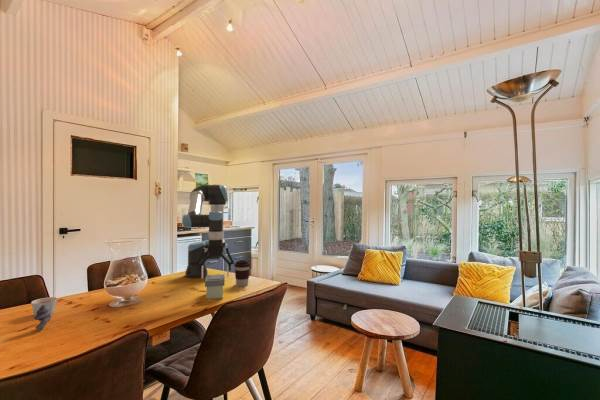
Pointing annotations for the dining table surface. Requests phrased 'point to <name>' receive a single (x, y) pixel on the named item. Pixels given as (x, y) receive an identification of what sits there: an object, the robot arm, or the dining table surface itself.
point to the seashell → (43, 316)
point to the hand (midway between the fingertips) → (215, 277)
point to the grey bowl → (47, 301)
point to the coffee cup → (242, 272)
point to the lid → (214, 280)
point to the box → (214, 292)
